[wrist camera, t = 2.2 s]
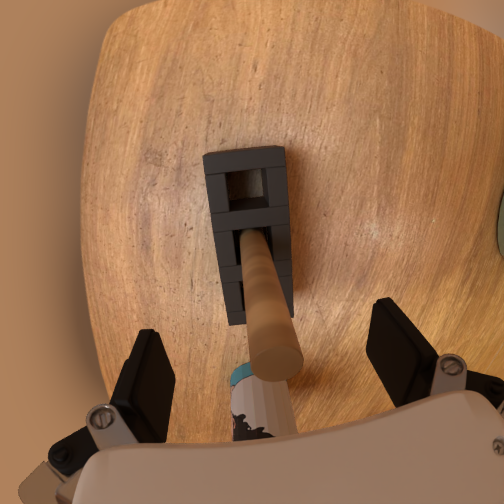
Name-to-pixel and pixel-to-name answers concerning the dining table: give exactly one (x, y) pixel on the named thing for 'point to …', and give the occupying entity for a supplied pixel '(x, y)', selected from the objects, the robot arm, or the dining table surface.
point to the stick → (267, 313)
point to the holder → (249, 219)
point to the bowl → (501, 229)
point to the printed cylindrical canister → (259, 407)
